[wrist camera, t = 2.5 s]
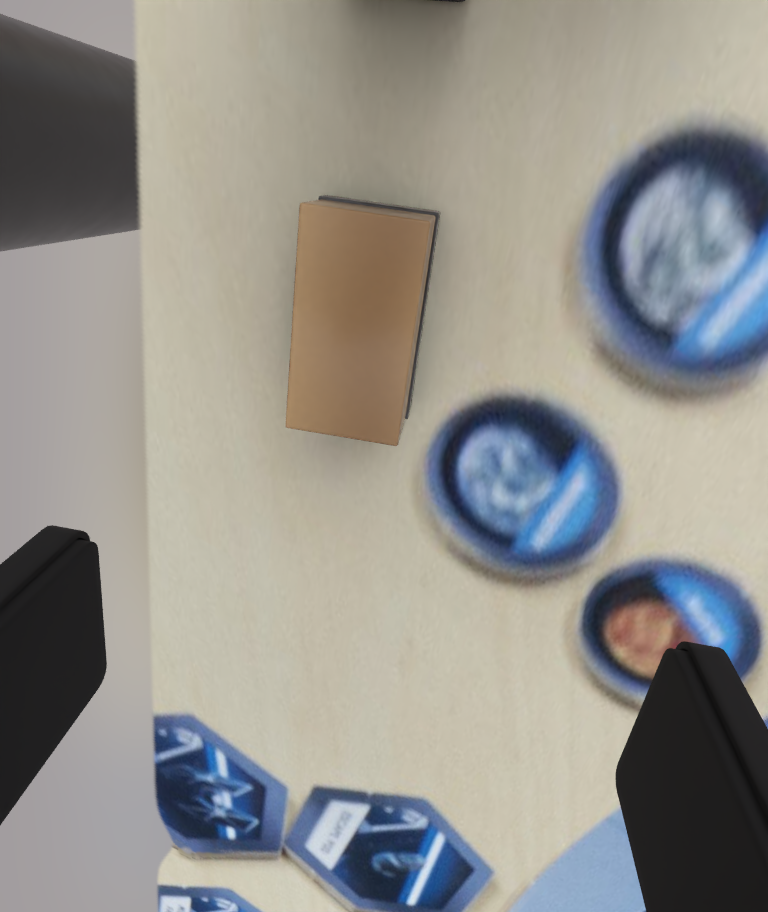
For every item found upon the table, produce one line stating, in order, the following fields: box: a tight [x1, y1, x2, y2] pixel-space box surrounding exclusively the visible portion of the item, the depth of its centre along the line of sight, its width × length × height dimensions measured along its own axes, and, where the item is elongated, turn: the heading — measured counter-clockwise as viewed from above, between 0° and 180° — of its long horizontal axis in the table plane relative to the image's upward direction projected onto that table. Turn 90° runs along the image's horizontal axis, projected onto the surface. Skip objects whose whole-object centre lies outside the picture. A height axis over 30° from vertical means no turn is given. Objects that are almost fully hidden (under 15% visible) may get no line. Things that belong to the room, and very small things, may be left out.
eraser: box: [286, 195, 440, 446], centre depth 22 cm, size 4×8×4 cm, turn 173°
